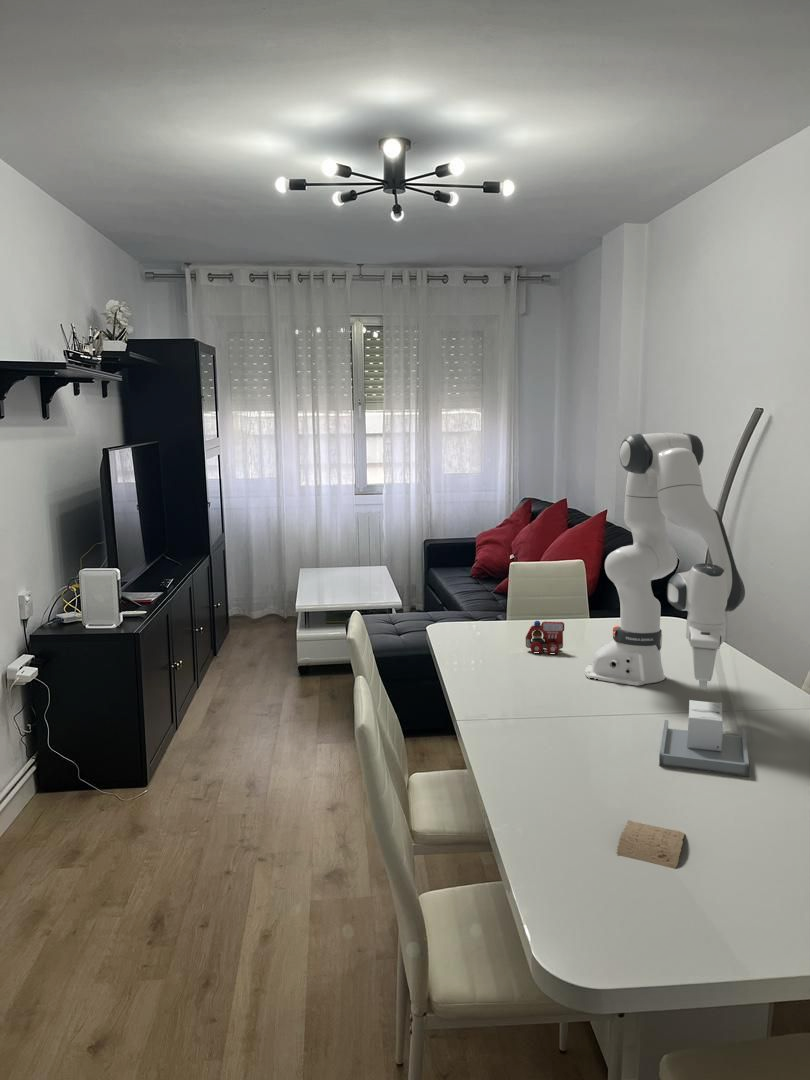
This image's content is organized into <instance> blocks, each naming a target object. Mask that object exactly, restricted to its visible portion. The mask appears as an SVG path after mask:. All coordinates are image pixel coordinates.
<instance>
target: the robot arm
mask: <svg viewBox="0 0 810 1080" xmlns="http://www.w3.org/2000/svg"><path fill="white" fill-rule="evenodd" d="M704 452H705V451H704V445H703V442H702V441H701V438H700V437H699V436H697V435H694V434H691V433H688V432H687V433H686V432H683V433H679V432H677V433H675V432H667V431H666V432H657V433H643V434H641V433H635V434H631V435H628V436H626V437H624V440H622V442H621V445H620V448H619V460H620V462H619V463H620V464H621V467H622V468H623V469H624V470H625V471H626V472H627V476H626V477H627V478H626V484H625V492H624V494H625V495H624V508H623V509H624V510H623V511H624V512H623V515H624V516H623V522H624V524H625V526H627V527H628V528H629V529H630V532H631V535H632V540H633V542H632V543H633V544H629V545H626V546H620V547H619V548H616V549H615V550H613V551H611V552H610V553H609V554H608V555H607V556H606V558H605V560H604V570H605V574H606V576H607V578H608V579H609V580H610V581H611V582H612V583H613V585H614V586H615V587H616V590H617V594H618V597H619V603H620V604H619V605H620V610H619V611H620V625H614V626H613V627H612V640H610V641H609V642H607V643H606V644H605V645H603V646H602V647H600V648H599V649H597V650H596V652H595V654H594V655H593V660H592V663H590V664H588V665H587V666H586V667H585V670H584V676H585V675H586V676H587V677H588V679H590V678H594V679H593V680H596V679H598V681H603V682H604V681H606V682H609V683H618V684H624V685H629V686H643V685H645V684H646V685H647V684H654V683H658V682H662V681H663V680H665V679H666V678H665V673H664V669H663V663H662V656H661V653H662V652H661V650H662V645H663V635H662V634H663V631H662V628H661V613H662V612H661V611H662V610H661V608H662V607H661V602H660V601H659V599H658V598H656V597H655V596H654V595H655V594H654V593H653V589H652V581H654V580H658V579H663V578H665V577H667V576H668V575H670V574H671V573H672V572H674V570H676V567H677V565H678V561H679V560H678V554H677V552H676V550H675V548H674V547H673V546H672V545H671V544H670V542H669V538H668V534H667V530H666V529H667V528H666V520H668V521H669V522H670V523H672V524H674V525H676V526H678V527H680V528H684V529H687V530H689V531H691V532H694V533H696V534H698V535H699V536H700V537H701V538H703V540H704V541H705V543H706V545H707V549H708V552H709V554H710V555H709V556H710V559H711V562H712V564H711V563H708V562H707V563H705V562H704V563H702V562H701V563H696V564H694V565H693V566H692V567H691V569H689V570H688V571H683V572H679V573H674V574H673V575H672V576H671V577H670V579H668V582H667V585H666V598H667V601H668V603H669V604H670V605H671V606H672V607H674V609H676V610H678V611H683V612H684V611H687V615H686V616H687V618H686V631H685V638H686V639H687V640H688V641H689V645H690V647H691V648H692V661H693V664H692V665H693V675H694V679H695V680H696V681H698V688H699V690H707V688H708V682H711V681H712V678H713V676H714V675H713V673H714V669H715V663H716V658H717V657H716V656H717V653H718V650H720V647H721V645H722V644H723V643H724V642H725V641H726V631H727V630H726V628H727V618H726V613H725V612H730V613H731V612H734V610H736V609H737V608H738V607H739V606H740V605H741V604H742V603H743V601H744V599H745V596H746V588H745V585H744V581H743V578H742V577H741V575H740V573H739V571H738V568H737V564H736V562H735V559H734V556H733V552H732V548H731V545H730V541H729V539H728V535H727V532H726V529H725V525H724V523H723V520H722V517H721V515H720V513H719V512H718V511H717V510H716V509H714V508H713V507H712V506H711V505H710V504H709V501H708V500H707V498H706V495H705V493H704V486H703V478H702V473H701V470H700V467H699V466H701V464H702V462H703V459H704ZM586 676H585V677H586ZM587 677H586V678H587Z"/></svg>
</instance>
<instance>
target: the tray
mask: <svg viewBox="0 0 810 1080" xmlns="http://www.w3.org/2000/svg"><path fill="white" fill-rule="evenodd" d="M687 736H688V729H687V730H686V729H684V730H683V729H676V728H675V729H674V728H669V720H667V719H664V723H663V730H662V736H661V742H660V743H661V744H660V750H659V756H658V757H659V761H658V762H659V763H658V766H659V767H668V768H675V769H682V770H691V771H701V772H706V773H716V774H723V775H731V776H739V777H746V778H749V777H750V776H749V774H750V762H749V755H748V754H749V752H748V744H747V735H746V728H745V727H744V728H743V727H741V728H740V735H739V736H738V735H733V734H732V735H731V734H724V733H723V741H722V752H720V751H712V750H703V749H694V748H688V747H687Z"/></svg>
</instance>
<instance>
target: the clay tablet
mask: <svg viewBox="0 0 810 1080" xmlns="http://www.w3.org/2000/svg"><path fill="white" fill-rule="evenodd" d="M685 835H686V833H684V832H682V831H680V830H675V829H670V828H665V827H660V826H655V825H650V824H646V823H645V824H644V823H641V822H636V821H632V820H630V819H627V821H626V824H625V827H624V829H623V830H622V832H621V834H620V836H619V839H618V840H619V841H618V845H617V849H616V851H617V852H616V854H617V855H616V856H618V857H623V858H624V857H625V858H629V859H633V860H637V861H641V862H645V863H650V864H654V865H658V866H661V867H667V868H670V869H674V870H676V868H677V866H678V864H679V862H680V861H679V860H680V855H681V852H682V847H683V843H684V841H683V839H684V837H685Z"/></svg>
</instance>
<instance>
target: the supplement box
mask: <svg viewBox="0 0 810 1080" xmlns="http://www.w3.org/2000/svg"><path fill="white" fill-rule="evenodd" d="M688 704H689V705H688V720H687V721H688V722H687V731H688V736H687V747H688V748H694V749H703V750H712V751H720V752H722V741H723V734H724V725H723V720H724V719H723V703H722V702H713V701H701V700H691V699H689V702H688Z"/></svg>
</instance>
